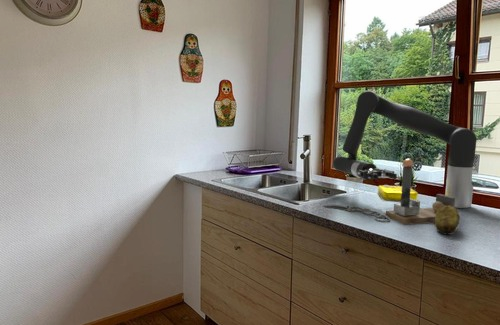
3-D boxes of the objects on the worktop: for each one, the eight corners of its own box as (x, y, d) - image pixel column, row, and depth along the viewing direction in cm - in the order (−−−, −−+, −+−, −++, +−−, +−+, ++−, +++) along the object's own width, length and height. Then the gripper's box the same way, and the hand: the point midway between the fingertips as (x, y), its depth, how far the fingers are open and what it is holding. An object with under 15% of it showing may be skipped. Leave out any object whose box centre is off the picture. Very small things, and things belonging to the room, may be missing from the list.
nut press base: (435, 212, 144) (436, 192, 143) (457, 220, 134) (459, 199, 132) (385, 216, 138) (386, 195, 137) (404, 224, 127) (406, 202, 126)
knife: (322, 205, 150) (337, 200, 156) (322, 208, 150) (337, 203, 156) (383, 222, 128) (399, 216, 134) (383, 226, 128) (398, 220, 134)
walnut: (438, 210, 140) (439, 200, 139) (446, 212, 136) (447, 202, 136) (429, 210, 139) (430, 200, 138) (437, 213, 135) (438, 203, 134)
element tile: (383, 200, 164) (384, 190, 164) (377, 193, 179) (377, 184, 179) (418, 202, 162) (419, 192, 162) (408, 195, 177) (409, 185, 176)
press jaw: (405, 210, 138) (409, 157, 135) (419, 215, 131) (423, 159, 128) (392, 211, 136) (396, 157, 133) (405, 216, 129) (409, 160, 127)
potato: (425, 231, 120) (427, 208, 119) (438, 223, 129) (440, 202, 128) (453, 238, 114) (455, 213, 113) (464, 229, 123) (467, 206, 122)
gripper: (349, 161, 156) (371, 167, 140) (378, 161, 159) (403, 167, 144) (348, 178, 157) (370, 186, 141) (377, 178, 160) (401, 185, 145)
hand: (386, 176), depth 143 cm, fingers open, 8 cm apart
